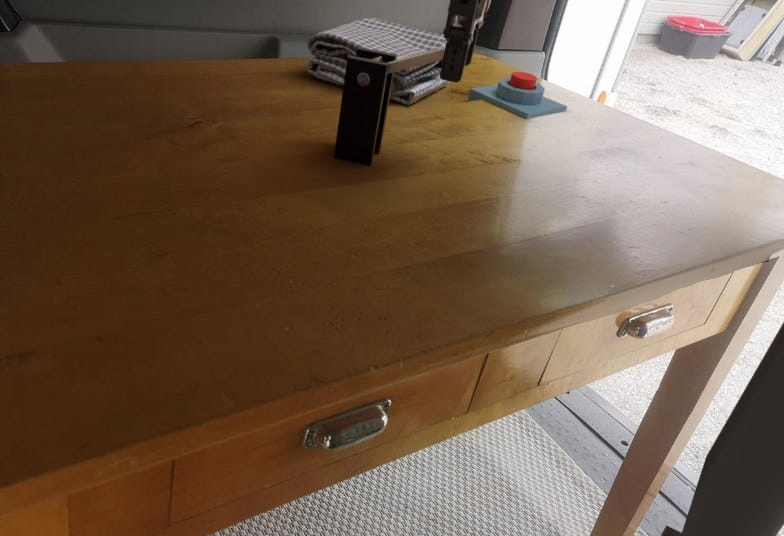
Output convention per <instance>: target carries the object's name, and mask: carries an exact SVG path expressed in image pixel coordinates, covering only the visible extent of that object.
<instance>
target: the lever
mask: <svg viewBox="0 0 784 536" xmlns="http://www.w3.org/2000/svg"><path fill="white" fill-rule="evenodd" d="M470 44H471V43H470ZM469 47H470V45H469ZM468 49H469V48H468ZM444 52H445V47H443V48H439V49H436V50H432V51H428V52H424V53H421V54H417V55H413V56H409V57H405V58H402V59H398V60H394V61H390V62H387V63H389V67H388V73H387V74H389V73H393V72H396V71H400V70H404V69H408V68H412V67H416V66H420V65H423V64H427V63H431V62H435V61H439V60H443V57H444ZM370 60H375V61H380V62H383V60H382V56H380V57H376V58H373V59H370Z"/></svg>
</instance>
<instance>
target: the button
mask: <svg viewBox="0 0 784 536" xmlns="http://www.w3.org/2000/svg"><path fill="white" fill-rule="evenodd" d="M510 78H511V79H510V83H509V85H510V86H512V87H515V88H518V89H523V90H534V87H535V84H536V83H537V79H538V77H537V76H535V75H534V74H532V73H530V72H529V73H528V72H524V71H513V72H512V73H511V75H510Z"/></svg>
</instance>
